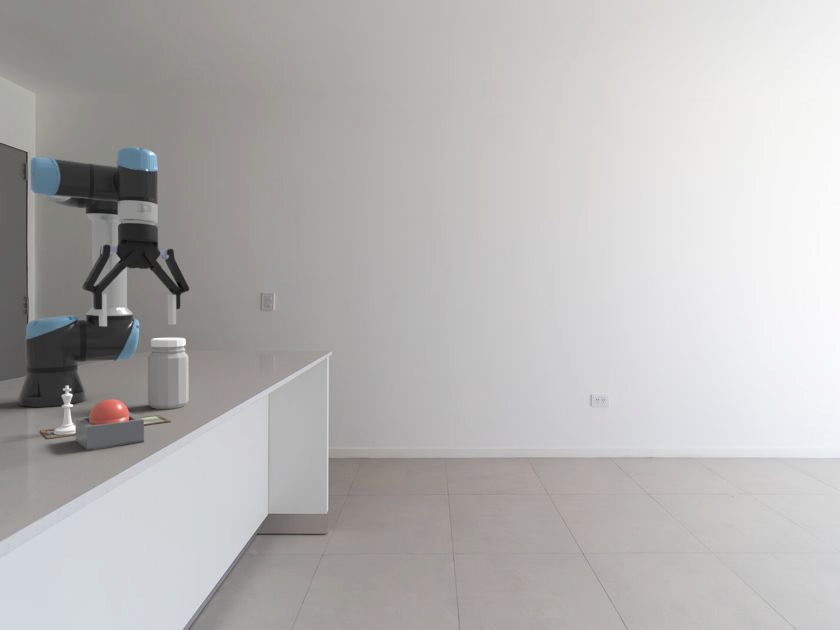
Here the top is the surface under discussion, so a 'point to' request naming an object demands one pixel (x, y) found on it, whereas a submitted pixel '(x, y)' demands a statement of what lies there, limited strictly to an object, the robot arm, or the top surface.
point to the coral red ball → (108, 412)
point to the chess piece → (66, 415)
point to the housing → (109, 433)
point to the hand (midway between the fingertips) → (139, 325)
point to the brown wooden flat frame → (147, 420)
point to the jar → (168, 374)
